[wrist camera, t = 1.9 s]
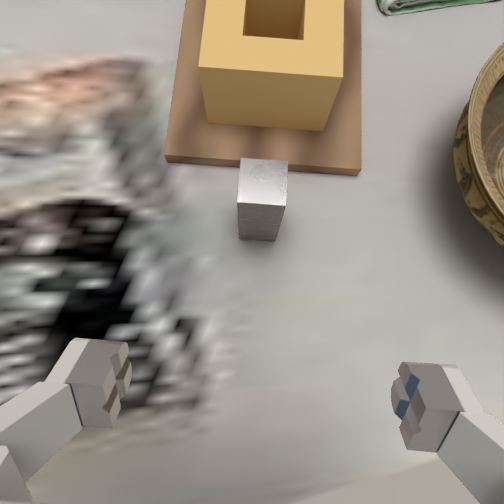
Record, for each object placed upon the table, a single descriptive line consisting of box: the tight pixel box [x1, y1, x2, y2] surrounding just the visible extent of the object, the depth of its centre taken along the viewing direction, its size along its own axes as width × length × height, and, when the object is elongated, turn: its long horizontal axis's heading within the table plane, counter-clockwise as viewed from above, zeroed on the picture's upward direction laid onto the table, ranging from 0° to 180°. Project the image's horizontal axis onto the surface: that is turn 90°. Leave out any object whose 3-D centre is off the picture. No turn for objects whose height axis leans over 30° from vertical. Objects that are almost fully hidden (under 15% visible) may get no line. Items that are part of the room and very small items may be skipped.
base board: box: [164, 0, 361, 176], centre depth 41 cm, size 20×23×2 cm
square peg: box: [237, 158, 288, 241], centre depth 32 cm, size 4×4×10 cm
